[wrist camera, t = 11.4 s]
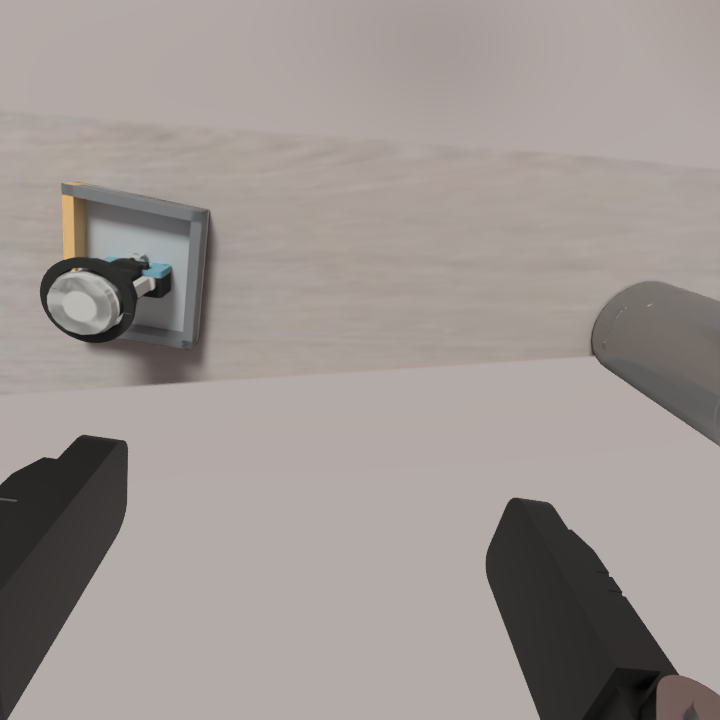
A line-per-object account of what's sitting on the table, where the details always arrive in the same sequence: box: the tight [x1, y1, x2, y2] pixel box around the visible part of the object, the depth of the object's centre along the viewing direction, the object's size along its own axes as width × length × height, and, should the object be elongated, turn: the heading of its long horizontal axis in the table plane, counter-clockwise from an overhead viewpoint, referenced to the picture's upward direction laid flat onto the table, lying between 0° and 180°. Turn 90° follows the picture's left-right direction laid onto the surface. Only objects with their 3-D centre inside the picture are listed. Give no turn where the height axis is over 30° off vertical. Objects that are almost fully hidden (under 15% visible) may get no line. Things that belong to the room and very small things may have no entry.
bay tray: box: [61, 182, 210, 350], centre depth 35 cm, size 10×11×2 cm
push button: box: [40, 252, 171, 343], centre depth 31 cm, size 7×5×10 cm
